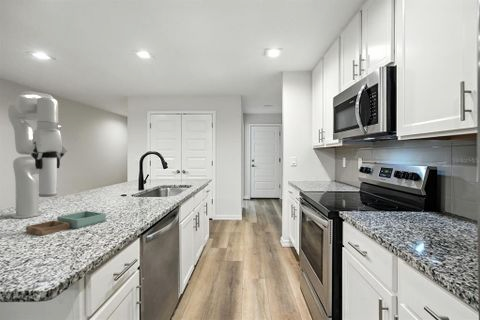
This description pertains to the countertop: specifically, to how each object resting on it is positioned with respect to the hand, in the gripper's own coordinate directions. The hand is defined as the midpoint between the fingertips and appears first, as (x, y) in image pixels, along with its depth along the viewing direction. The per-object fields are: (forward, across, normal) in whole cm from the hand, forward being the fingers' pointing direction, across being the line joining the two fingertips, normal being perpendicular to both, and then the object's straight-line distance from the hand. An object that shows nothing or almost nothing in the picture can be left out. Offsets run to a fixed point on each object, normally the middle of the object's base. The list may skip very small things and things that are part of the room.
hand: (47, 168), depth 114 cm
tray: (+27, -14, +2) cm, 31 cm away
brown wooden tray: (+27, 0, 0) cm, 27 cm away
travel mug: (+12, 0, 0) cm, 12 cm away
